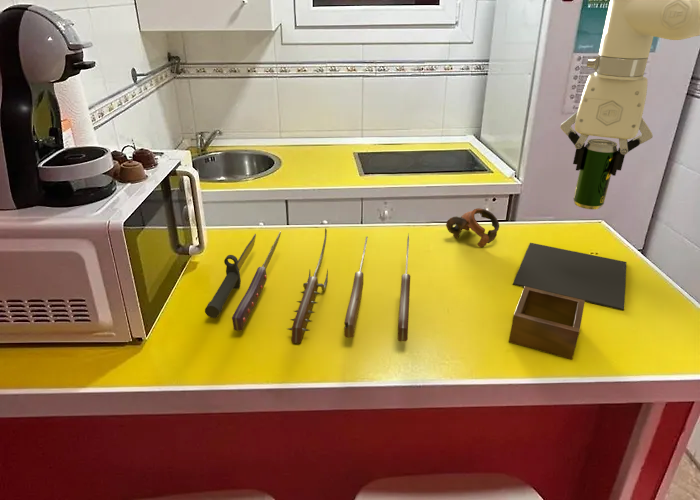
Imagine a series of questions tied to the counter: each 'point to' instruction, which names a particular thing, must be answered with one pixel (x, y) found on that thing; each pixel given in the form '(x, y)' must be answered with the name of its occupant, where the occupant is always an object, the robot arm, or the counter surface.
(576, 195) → the beer can
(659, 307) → the counter surface
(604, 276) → the mat
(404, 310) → the knife set
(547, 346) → the box
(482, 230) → the brown curved piece
